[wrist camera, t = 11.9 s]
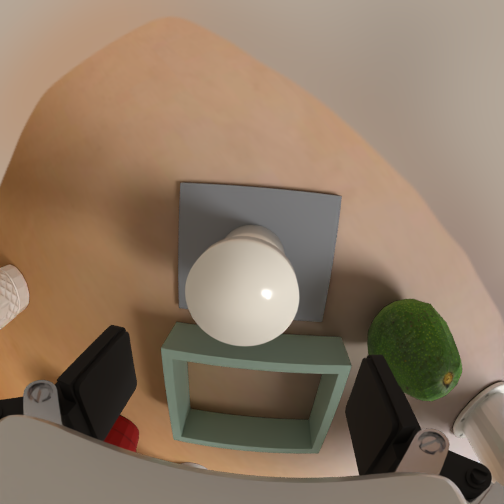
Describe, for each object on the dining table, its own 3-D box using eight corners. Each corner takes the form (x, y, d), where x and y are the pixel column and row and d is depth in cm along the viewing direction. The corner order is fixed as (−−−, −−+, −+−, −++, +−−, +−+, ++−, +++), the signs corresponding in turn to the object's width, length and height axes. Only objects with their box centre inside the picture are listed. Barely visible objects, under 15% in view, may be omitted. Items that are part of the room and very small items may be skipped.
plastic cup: (145, 408, 33) (113, 473, 21) (161, 451, 36) (140, 509, 24) (82, 393, 34) (44, 445, 22) (104, 437, 36) (77, 486, 25)
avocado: (432, 316, 27) (489, 379, 15) (379, 361, 29) (416, 438, 17) (400, 268, 26) (466, 325, 14) (341, 319, 27) (375, 401, 16)
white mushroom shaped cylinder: (296, 222, 24) (306, 248, 16) (286, 297, 26) (290, 351, 18) (214, 214, 25) (185, 236, 17) (211, 288, 27) (186, 338, 19)
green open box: (340, 336, 28) (351, 365, 23) (314, 424, 32) (318, 453, 27) (176, 321, 29) (160, 348, 24) (183, 412, 32) (173, 439, 28)
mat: (340, 195, 24) (341, 196, 24) (321, 318, 28) (322, 321, 27) (182, 182, 25) (180, 182, 24) (180, 305, 28) (178, 307, 27)
